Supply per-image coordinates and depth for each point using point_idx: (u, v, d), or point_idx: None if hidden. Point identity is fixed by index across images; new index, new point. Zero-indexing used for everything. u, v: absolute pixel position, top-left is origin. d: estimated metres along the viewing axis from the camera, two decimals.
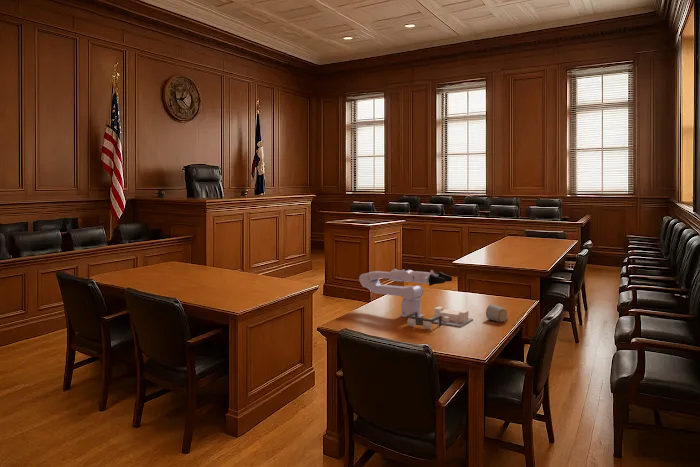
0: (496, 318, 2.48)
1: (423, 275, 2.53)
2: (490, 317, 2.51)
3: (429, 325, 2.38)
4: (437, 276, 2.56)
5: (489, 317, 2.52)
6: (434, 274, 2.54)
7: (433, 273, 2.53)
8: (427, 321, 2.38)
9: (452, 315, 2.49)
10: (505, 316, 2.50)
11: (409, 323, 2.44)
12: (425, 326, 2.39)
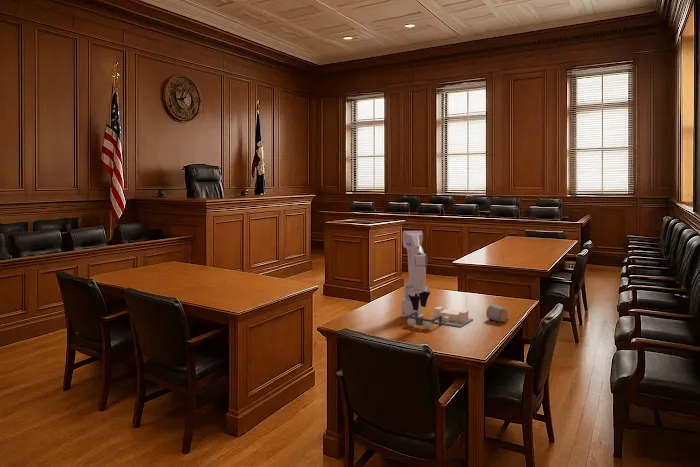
0: (496, 318, 2.48)
1: (419, 284, 2.37)
2: (490, 317, 2.51)
3: (429, 325, 2.38)
4: None
5: (489, 317, 2.52)
6: None
7: None
8: (427, 321, 2.38)
9: (452, 315, 2.49)
10: (505, 316, 2.50)
11: (409, 323, 2.44)
12: (425, 326, 2.39)
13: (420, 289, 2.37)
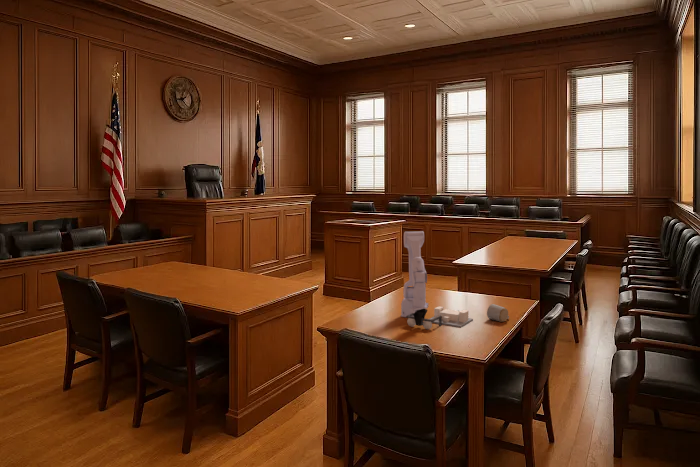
0: (497, 318, 2.49)
1: (419, 300, 2.37)
2: (491, 317, 2.52)
3: (429, 325, 2.38)
4: None
5: (490, 317, 2.52)
6: None
7: None
8: (427, 321, 2.38)
9: (452, 315, 2.49)
10: (506, 316, 2.50)
11: (409, 323, 2.44)
12: (425, 326, 2.39)
13: (420, 306, 2.38)
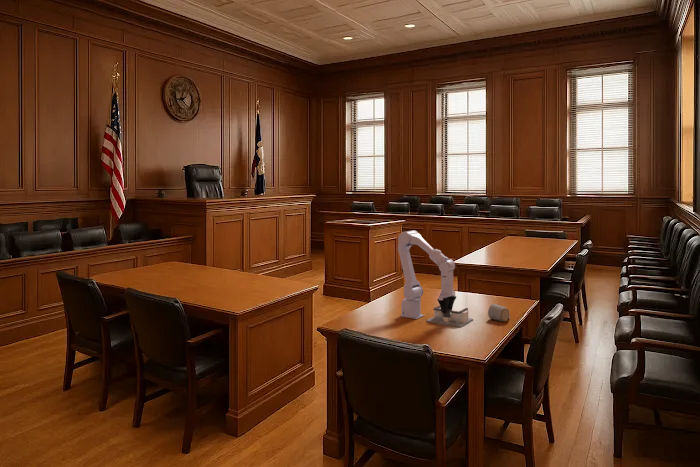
0: (498, 317, 2.49)
1: (447, 288, 2.45)
2: (492, 317, 2.52)
3: (457, 317, 2.46)
4: None
5: (491, 316, 2.53)
6: None
7: None
8: (454, 313, 2.46)
9: None
10: (507, 315, 2.51)
11: (436, 315, 2.52)
12: (452, 318, 2.47)
13: (448, 293, 2.45)
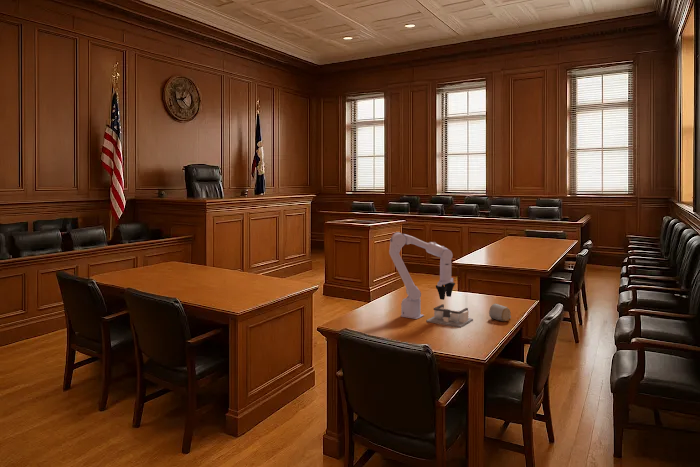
0: (499, 317, 2.49)
1: (446, 275, 2.57)
2: (493, 317, 2.53)
3: (457, 317, 2.46)
4: None
5: (492, 316, 2.53)
6: None
7: None
8: (454, 313, 2.46)
9: None
10: (508, 315, 2.51)
11: (436, 315, 2.52)
12: (452, 318, 2.47)
13: (446, 280, 2.57)
